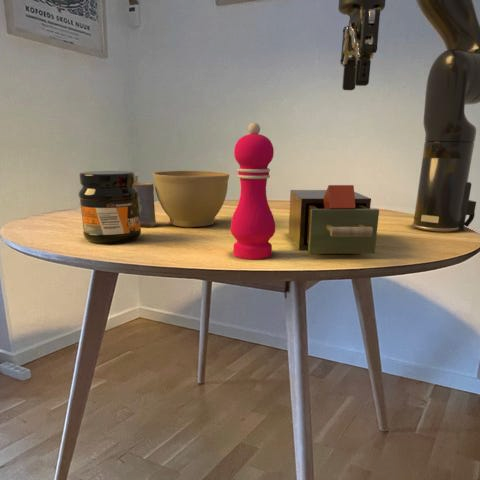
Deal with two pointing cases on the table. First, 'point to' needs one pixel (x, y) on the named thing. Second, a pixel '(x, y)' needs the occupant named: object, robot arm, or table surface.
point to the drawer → (340, 229)
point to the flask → (146, 203)
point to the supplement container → (109, 206)
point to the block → (339, 197)
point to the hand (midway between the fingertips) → (354, 87)
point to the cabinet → (299, 211)
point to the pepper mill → (253, 197)
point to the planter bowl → (191, 195)
